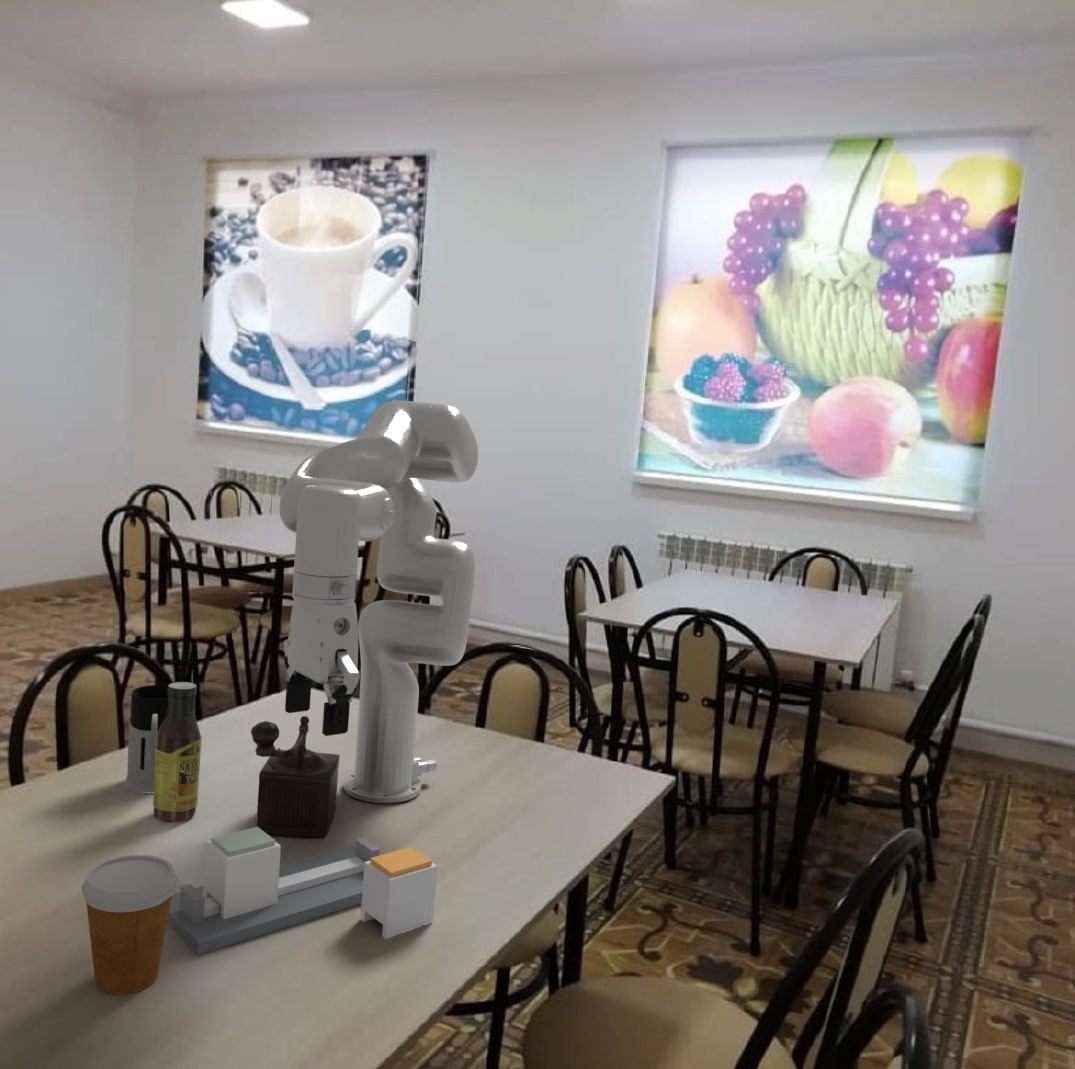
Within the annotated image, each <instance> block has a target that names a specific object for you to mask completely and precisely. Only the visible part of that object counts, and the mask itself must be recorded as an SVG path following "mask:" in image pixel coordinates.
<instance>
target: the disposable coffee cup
mask: <svg viewBox="0 0 1075 1069" xmlns="http://www.w3.org/2000/svg"><path fill="white" fill-rule="evenodd" d="M178 881H179V879H178V876H177V874H176V873H175V870H174V867H173V865H172V863H171V862H170V861H169V860H166V859H164V858H163V857H159V856H155V855H150V854H129V855H121V856H116V857H113V858H108V859H106V860H103V861H101V862H99V863H97V864H96V865H94V866H92V868H90V870H89V871H88V872H87V874H86V877H85V881H83V883H82V885H81V895H82V897H83V898H84V901H85V903H86V909H87V910H86V911H87V919H88V920H87V921H88V929H89V939H90V946H91V953H92V954H91V957H92V966H93V975H94V977H93V978H94V984H95V986H96V988H97V987H98V988H99V989H98V988H97V989H98V990H99V991H101V990H102V991H101V992H104V993H107V994H110V993H111V994H113V995H126V994H133V993H136V991H137V992H140V991H142V990H144V989H146V987H147V988H148V987H150V986H151V985H152V984H153V983H155V981H156V980H157V978H158V976H159V970H160V963H161V957H162V952H163V948H164V942H165V936H166V931H167V926H168V923H167V920H168V915H169V909H170V903H171V897H172V894H174V893H175V889H177V886H178ZM139 990H140V991H139Z"/></svg>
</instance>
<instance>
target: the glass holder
mask: <svg viewBox="0 0 1075 1069" xmlns="http://www.w3.org/2000/svg"><path fill="white" fill-rule="evenodd" d="M130 697H131V698H130V700H131V701H130V717H129V721H128V722H129V724H128V742H127V743H128V746H127V748H128V751H127V773H126V774H127V775H126V778H125V780H124V782H123V787H124V788H125V789H126V788H127V790H128V789H129V790H128V791H130V790H131V791H130V792H133V791H135V792H134V793H137V792H146V793H145V794H148V793H147V792H154V778H155V762H156V747H157V742H158V731H159V728H160V726H161V724H162V722H163V721H164V720H165V719H166V717H167V715H168V714H167V710H168V698H169V697H168V685H167V684H166V685H165V684H151V685H144V686H140V687H136V688H134V689H132V690H131V696H130Z"/></svg>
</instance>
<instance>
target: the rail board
mask: <svg viewBox="0 0 1075 1069" xmlns="http://www.w3.org/2000/svg"><path fill="white" fill-rule="evenodd" d="M281 848H282V845H280V844H279V843H278V842H276V839H275V838H273V836H269V835H268V834H266V833H265V832H264V831H262V830H261V829H260V828H259V827H257V826H255V827H250V828H246V829H243V830H238V831H233V832H229V833H225V834H221V835H218V836H212V837H211V840H207V841H205V854H204V856H205V857H204V875H203V876H204V877H203V886H199V887H194V885H192V884H191V883H188V884H185V885H181V886H180V891H179V892H176V893H173V894H172V897H171V903H170V909H169V915H168V920H167V925H169V926H170V927H171V929H173V930H174V931H175V933H176V934H178V936H179V937H180V938H181V939H182V940H183V941H184V942H185V943H186V944H187V945H188V946H189V947H190V948H191V950H192V951H193V952H195V954H196V955H197V956H200V955H202V954H206V953H208V952H213V951H216V950H219V949H221V948H222V949H223V948H225V947H229V946H232V945H234V944H238V943H240V942H245V941H247V940H251V939H253V938H257V937H260V936H263V935H266V934H270V933H273V932H275V931H279V930H282V929H285V928H288V927H291V926H295V925H298V924H301V923H304V922H307V921H311V920H314V919H317V918H320V917H323V916H325V915H330V914H332V913H336V912H339V911H343V910H345V909H348V908H352V907H354V906H355V907H356V906H358V905H362V890H363V876H364V862H367V861H370V858H373V857H376V856H380V855H381V854H380V850H381V849H380V848H379V847H378V846H377V845H375V844H373V843H372V842H370V841H369V840H367V839H366V838H364V837H362V838H357V839H356V840H355V845H351V846H347V847H343V848H340V849H336V850H333V851H329V852H325V853H321V854H317V855H314V856H311V857H307V858H303V859H299V860H295V861H292V862H288V863H284V864H281V863H280V862H281Z"/></svg>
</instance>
